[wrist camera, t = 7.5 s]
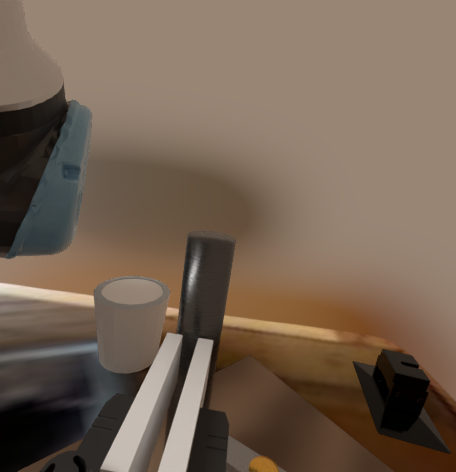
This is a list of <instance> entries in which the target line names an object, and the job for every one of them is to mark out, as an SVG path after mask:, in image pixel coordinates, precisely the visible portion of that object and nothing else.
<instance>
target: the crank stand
mask: <svg viewBox="0 0 456 472" xmlns="http://www.w3.org/2000/svg"><path fill="white" fill-rule="evenodd" d="M209 409H211V410H217V411H222V412H225V413H226V416H227V419H228V422H229V436H231V437H232V438H234V439H235V440H237V441H239V442H240V443H242V444H243V445H245V446H246V447H248V448H250V449H251V450H253V451H254V452H256V453H258V454H259V455H263V456H266V457H269V458H270V459H272V460H273V461H274V462H275V463H276V464H277V465H278V466H279V467H280V468H282V469H283V470H285V471H286V472H394V471H393V470H392V469H390V468H389V467H388V466H387V465H385V464H384V463H383V462H382V461H381V460H379V459H378V458H377V457H376V456H374V455H373V454H372V453H371V452H369V451H368V450H367V449H366V448H364V447H363V446H362V445H361V444H359V443H358V442H357V441H356V440H355V439H353V438H352V437H351V436H350V435H348V434H347V433H346V432H345V431H343V430H342V429H341V428H340V427H338V426H337V425H336V424H335V423H334V422H332V421H331V420H330V419H329V418H327V417H326V416H325V415H324V414H322V413H321V412H320V411H319V410H317V409H316V408H315V407H314V406H312V405H311V404H310V403H309V402H308V401H306V400H305V399H304V398H303V397H301V396H300V395H299V394H298V393H296V392H295V391H294V390H293V389H291V388H290V387H289V386H288V385H287V384H285V383H284V382H283V381H282V380H280V379H279V378H278V377H277V376H275V375H274V374H273V373H272V372H270V371H269V370H268V369H267V368H265V367H264V366H263V365H262V364H261V363H259V362H258V361H257V360H256V359H254V358H253V357H252V356H251V355H249V356H247V357H245V358H243V359H241V360H239V361H237V362H235V363H233V364H231V365H229V366H227V367H225V368H223V369H221V370H219V371H218V372H216V373H215V376H214V382H213V388H212V395H211V401H210V407H209ZM167 413H168V410H167ZM167 413H166V416H165V419H164V422H163V425H162V428H161V431H160V434H159V437H158V440H157V443H156V446H155V449H154V451H153V454H152V457H151V460H150V463H149V466H148V469H147V472H158V469H159V466H160V463H161V459H162V456H163V448H164V440H165V431H166V422H167ZM82 441H83V439H82V440H80V441H78V442H76V443H74V444H72V445H70V446H68V447H66V448H64V449H62V450H60V451H58V452H56V453H54V454H52V455H50V456H48V457H46V458H44V459H42V460H40V461H38V462H36V463H34V464H32V465H30V466H28V467H26V468H24V469H22V470H20V471H18V472H40V470H41V469H42V468H43V467H44V465H45V464H46V463H47V462H48V461H50V460H51V459H52V458H54V457H55V456H57V455H58V454H61V453H64V452H67V451H77V449H78V447H79V446H80V444H81V442H82Z"/></svg>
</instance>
